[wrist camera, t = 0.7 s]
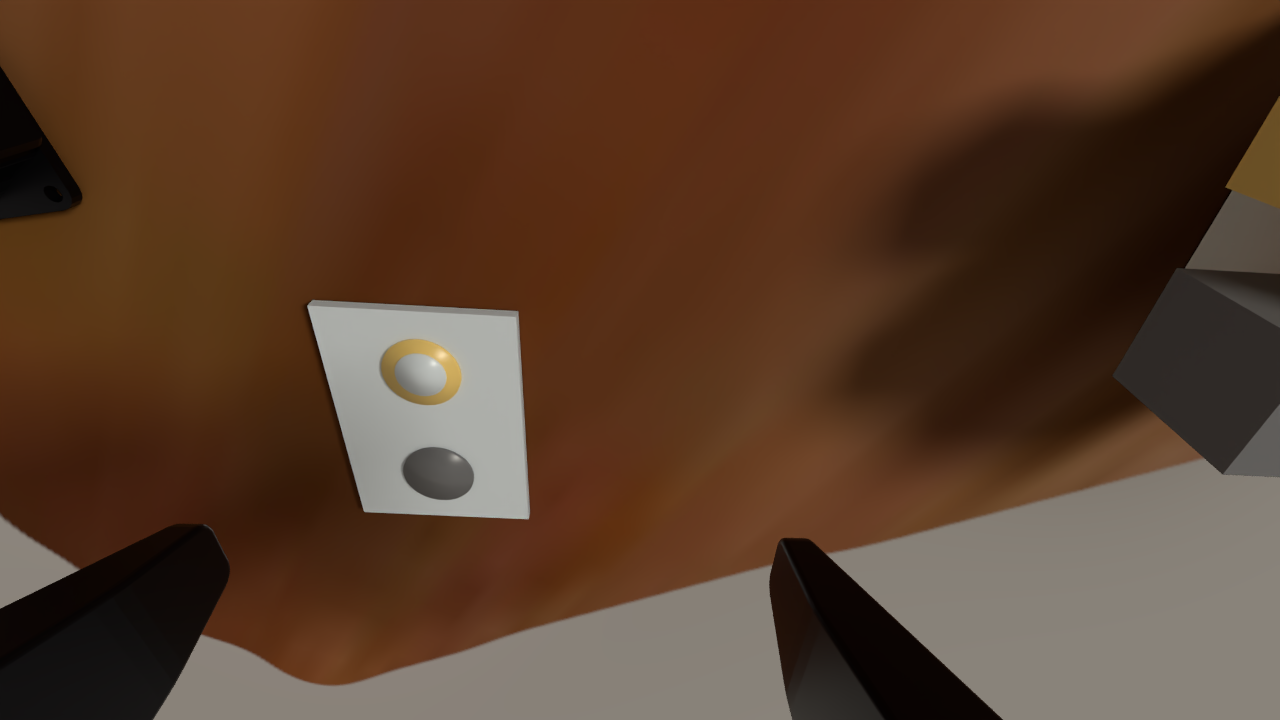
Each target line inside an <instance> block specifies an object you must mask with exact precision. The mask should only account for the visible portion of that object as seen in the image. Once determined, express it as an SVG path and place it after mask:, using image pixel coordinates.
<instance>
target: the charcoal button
mask: <svg viewBox="0 0 1280 720" xmlns="http://www.w3.org/2000/svg"><path fill="white" fill-rule="evenodd" d="M1113 377H1114V378H1115V379H1116V380H1117V381H1118V382H1120V383H1121V384H1122V385H1123V386H1124V387H1125V388H1126V389H1127V390H1129V391H1130V392H1131V393H1132V394H1133V395H1134V396H1135V397H1136V398H1137V399H1139V400H1140V401H1141V402H1142V403H1143V404H1144V405H1145V406H1146V407H1148V408H1149V409H1150V410H1151V411H1152V412H1153V413H1154V414H1155V415H1157V416H1158V417H1159V418H1160V419H1161V420H1162V421H1163V422H1164V423H1166V424H1167V425H1168V426H1169V427H1170V428H1171V429H1172V430H1173V431H1175V432H1176V433H1177V434H1178V435H1179V436H1180V437H1181V438H1182V439H1183V440H1185V441H1186V442H1187V443H1188V444H1189V445H1190V446H1191V447H1192V448H1194V449H1195V450H1196V451H1197V452H1198V453H1199V454H1200V455H1201V456H1203V457H1204V458H1205V459H1206V460H1207V461H1208V462H1209V463H1210V464H1212V465H1213V466H1214V467H1215V468H1216V469H1217V470H1218V471H1219V472H1221V473H1222V474H1223V475H1244V476H1265V477H1280V274H1272V273H1255V272H1238V271H1220V270H1203V269H1186V268H1177V269H1176V270H1175V272H1174V274H1173V275H1172V277H1171V279H1170V280H1169V282H1168V284H1167V285H1166V287H1165V289H1164V290H1163V292H1162V294H1161V295H1160V297H1159V299H1158V300H1157V302H1156V304H1155V305H1154V307H1153V309H1152V310H1151V312H1150V314H1149V315H1148V317H1147V319H1146V320H1145V322H1144V324H1143V325H1142V327H1141V329H1140V330H1139V332H1138V334H1137V335H1136V337H1135V339H1134V340H1133V342H1132V344H1131V345H1130V347H1129V349H1128V350H1127V352H1126V354H1125V355H1124V357H1123V359H1122V361H1121V362H1120V364H1119V366H1118V367H1117V369H1116V371H1115V372H1114V374H1113Z"/></svg>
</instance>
